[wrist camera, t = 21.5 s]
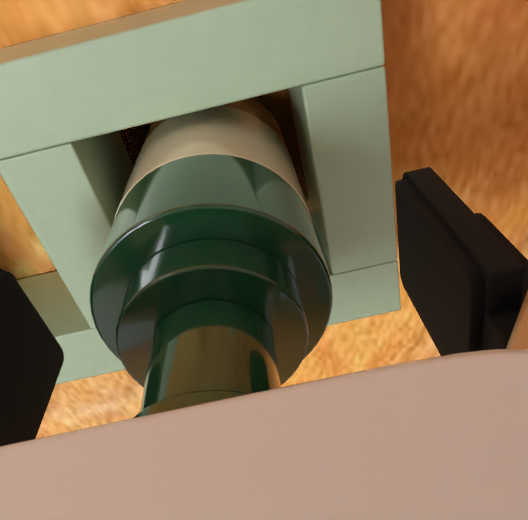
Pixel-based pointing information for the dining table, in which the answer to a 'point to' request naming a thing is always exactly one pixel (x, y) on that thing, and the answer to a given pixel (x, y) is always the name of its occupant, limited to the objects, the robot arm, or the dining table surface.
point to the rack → (187, 101)
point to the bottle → (211, 262)
